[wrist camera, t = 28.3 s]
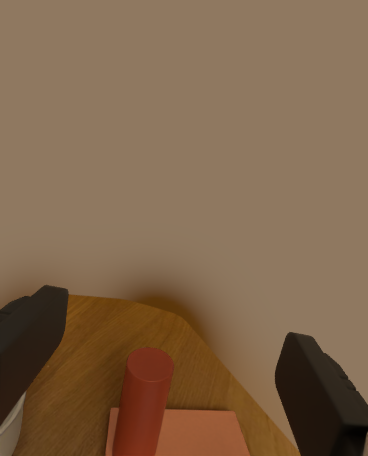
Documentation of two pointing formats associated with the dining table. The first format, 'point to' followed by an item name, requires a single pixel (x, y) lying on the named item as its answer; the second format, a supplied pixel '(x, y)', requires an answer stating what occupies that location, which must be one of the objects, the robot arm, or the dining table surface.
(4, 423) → the teacup
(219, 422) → the board
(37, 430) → the dining table surface
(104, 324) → the dining table surface
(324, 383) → the robot arm
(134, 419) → the rust pin
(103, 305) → the dining table surface
